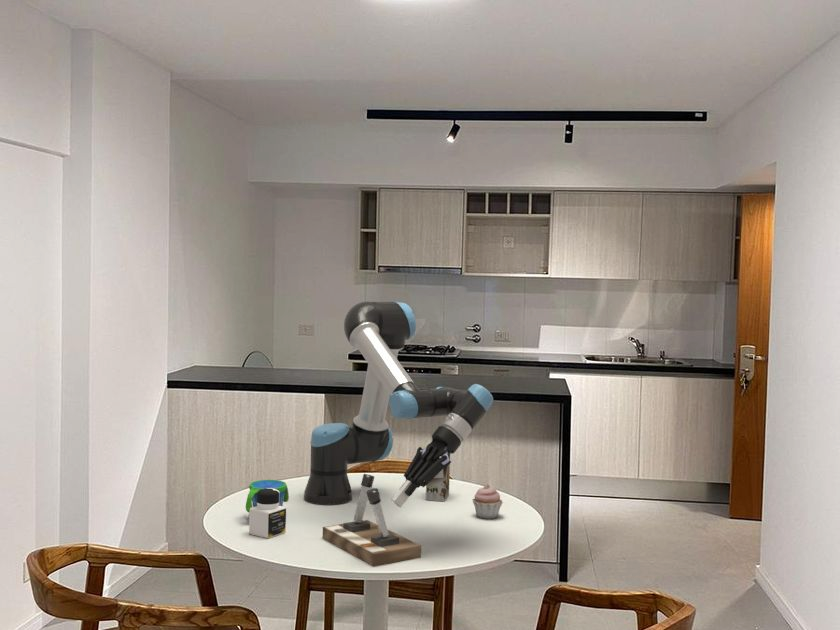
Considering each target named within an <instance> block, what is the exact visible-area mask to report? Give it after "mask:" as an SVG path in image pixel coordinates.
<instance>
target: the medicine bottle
mask: <svg viewBox="0 0 840 630" xmlns="http://www.w3.org/2000/svg"><path fill="white" fill-rule="evenodd" d="M279 498H280V492H279V491H278V490H276V489H273V488H265V489H261V490H259V491H258V492H257V505H258V506H256V507H253V506H252V508H250V513H249V524H248V526H249V527H248V534H249V535H251V536H252V535H253V536H256V537H261V538H264V539H271V538H274V537H277V536H280V535H282V534H285V533H286V530H287V529H286V527H287V525H286V524H287V507H286V506H284V505H283V506H278V505H279Z"/></svg>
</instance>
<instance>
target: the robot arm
mask: <svg viewBox="0 0 840 630" xmlns="http://www.w3.org/2000/svg"><path fill="white" fill-rule="evenodd" d="M416 329H417V321H416V316H415V314H414V311H413V309H412V308H411V306H409V305H408V304H407V303H405V302H398V301H395V300H394V301H360V302H359V303H357V304H355V305H353V306H352V307H351V308H350V309H349V310H348V312H347V314H346V315H345V318H344V322H343V330H344V335H345V337H346V339H347V341H348V343H349V344H350V345H351V346H352V348H354V349H357V350H358V351H359V353H361V355H362V356H363V358H364V360H365V361H366V363H367V369H366V375H365V380H364V387H363V391H362V397H361V403H360V408H359V413H358V415H356V416H355V417H353V420H352V425H351V427H349V425H348V424H347V423H344V422H336V423H335V422H334V423H333V422H332V423H326V424H321V425H318V426H316V427H315V428H314V429H313V430H312V432H311V437H310V438H311V439H310V474H309V477H308V480H307V483H306V486H305V488H304V491H303V499H304V501H305V502H308V503H311V504H317V505H327V506H328V505H330V506H331V505H340V504H346V503H349V502H351V501H352V500H353V490H352V487H351V484H350V479H349V477H348V465H354V464H362V463H363V464H364V463H375V462H378V461H383V460H384V459H386V458H387V457H388V456H389V455H390V454H391V451H392V448H393V445H394V438H393V436H394V435H393V432H392V429H391V427H389V422H387V420H386V417H387V412H388V407H389V408H390V414H392V415H391V416H393V417H394V418H396V419H399V420H400V419H403V420H412V419H419V418H420V419H421V418H430V417H431V418H433V417H444V416H446V417H445V419H444V420H443V421H442V422H441V424H440V426H438V427H437V428H436V429H435V431H434V432H433V433H432V435H431V442H430V443H428V444H427V445H426V447H424V448H422V446H420V447H418V448H417V449H416V453H415V455H414V457H413V458H412V460H411V462H410V464H409V465H408V467H407V468H406V471H405V473H404V474H403V476H404V478H405V481H404V483H403V484H402V485H401V486H400V487H399V489H398V491H397V492H396V493H395V495H394V496H393V497H392V499H391V501H392V502H393V503H394V505H396V506H397V507H399V508H402V507H403V505H405V503H406V502H407V500H408V499H409V497H411V496H412V495H413V493H415V491H416V489H418V488H420V487H422V488H426V485H427V484H428V483H429V482H430V481H431V480H432V479H433V478H434V477H435V476H436V475H437V474H438V473H439V472H440V471H441V470H442V469H443V468H444V467H446V466H448V465H449V464H450V465H451V463H452V461H451V459H450V460H449V458H448V456H449V455H450V456H451V454H454V453H456V452H457V450H458V449H459V448H460V446H461V445H462V443H463V442H465V440H466V439H467V437H469V435H470V433H472V431H473V429H474V428H475V427H476V426H477V425H478V424H479V422H480V420H481V419H482V418H483V417H484V415H486V413H487V412H488V410H489V409H490V407H491V406H492V404H493V403H494V397H493V395H492V393H491V392H490V391H489V390H488V389H487V388H486V387H484V386H483V385H481V384H478V383H474V384H472V385H470V386H469V388H467V390H460V389H457V388H456V389H455V388H452V387H450V386H438V387H436V388H433V389H419V387H418V386H417V385H416V383H415V382H414V381H413V379H412V378H411V377H410V375H409V373H408V372H407V371H406V370H405V368H404V367H403V365H402V364H401V363H400V361H399V359H398V354H399V352H400V351H402V350H403V349H404V348H405V345H406V340H407V341H408V340H410V339H412V337H414V335H415V333H416Z"/></svg>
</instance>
